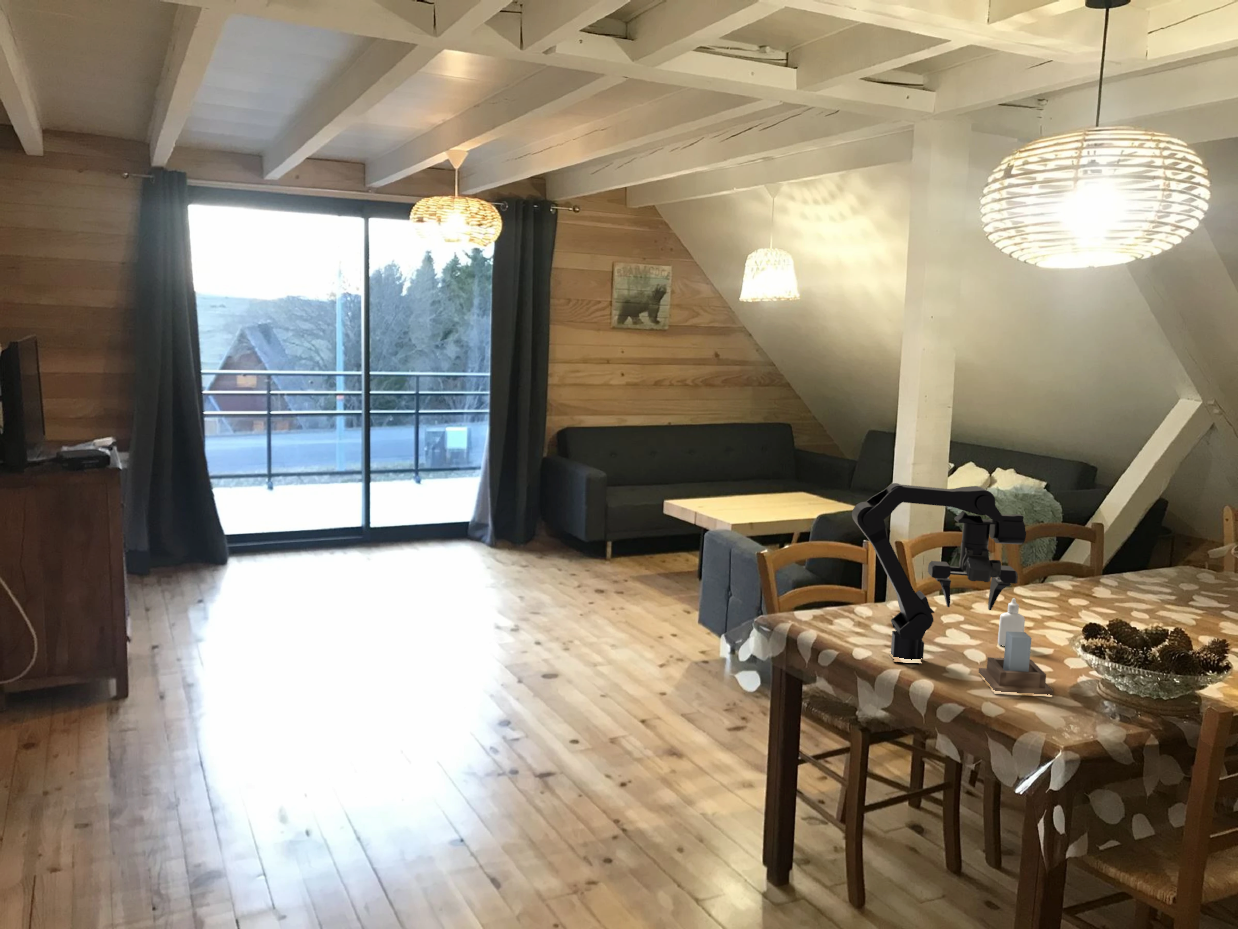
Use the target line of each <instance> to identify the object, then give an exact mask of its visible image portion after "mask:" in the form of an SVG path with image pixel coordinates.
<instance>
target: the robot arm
mask: <svg viewBox="0 0 1238 929" xmlns="http://www.w3.org/2000/svg"><path fill="white" fill-rule="evenodd" d="M902 503H903V504H904V503H905V504H906V503H907V504H917V505H928V506H938V507H949V508H954V509H957V510H961V511H960V513H959V514H958V515H956V516H955V517H954V521H956V522H957V523H959V524H962V534H961V535H962V536H961V543H960V557H959V563H958V565H959V566H954V565H953V566H951V565H950V564H949V563H948V562H947V561H936V560H931V561H930V562H928V565H927V573H928V574H929V576H930V577H931V578H932V579H933V578H934V579H935V580H936V582H939V583H940V584H939V585H940V586H941V589H942V593H943V596H944V600H945V603H946V607H947V608H950V607H951V583H952V580H951V579H950V577H951V576H952V575H954V576H966V577H967V579H968V580H969V581H971V582H984V583H989V582H990V587H989V594H988V603H987V610H988V611H992V609H993V607H994V606H995V603H996V601H997V599H998V597H999V595H1000V594H1001V593H1002V591H1003V590H1004V589H1005V588H1006V587H1011V585H1012V584H1013V585H1014V584H1018V579H1019V576H1018V575H1019V574H1018V572H1017V571H1016V570H1015V568H1013V567H1012V566H1010V565H1002V561H1001V560H1000V559H991V560H990V558H989V554H990V553H989V542H990V541H989V540H990V539H993V541H994V543H995V544H1003V545H1004V544H1005V545H1008V544H1009V545H1024V543H1025V541H1026V538H1027V530H1026V525H1025V521H1024V515H1022V514H1020V513H1014V514H1003V513H1001V512H1000V510H999V508H998V507H997V505H996V498H995V496H994V494H993V493H992V492H991V491H989V490H987V489H985V488H983V487H981V486H978V485H970V486H960V487H956V488H943V487H941V488H940V487H930V486H922V485H920V486H919V485H909V484H900V483H899V482H898V483H897V482H894V483H893V482H892V483H891V484H889V485H888V486H887V487H885V488H884V489H883V490H880V492H878V493H876V494H874V495H873V496H871V497H870V498H869V499H867V500H865V501H861V502H859V503H857V504H856V505H855V506H854V507H853V509H852V511H851V517H852V520H853V521H854V523H855V524H856V525H857V527H858V528H859V530H861V532H862V533H863V535H864V536H865V537H866V538H867V540H868V541H869V542H870V544H871V545H872V547H873V550H874V552H875V554H876V555H877V557H878V560H879V562H880V564H881V565H882V568H883V570H884V572H885V574H886V576H887V578H888V579H889V582H890V583H891V585H892V587H893V589H894V591H895V594H896V598H897V604H898V607H899V612H898V613H897V614H896V615H894V616H893V617H892V618H891V619H890V622H891V626H892V628H893V629H894V630H892V631H891V632H892V634H891V645H890V652H891V654H892V655H893V657H899V658H904V659H911V660H912V659H921V658H922V660H923V659H924V652H925V642H924V641H923V638H924V636H925V634H926V632H927V631H928V630H929V629H930V628H931V627H932V625H933V623H934V620H935V619H934V615H933V614H935V611H934V610H933V609H932V607H931V606H930V603H929V601H928V598H927V596H926V595H925V594H924V592H922V591H921V590H918V591H915V590H914V588H913V586H912V584H911V582H910V580H909V578H908V575H907V574H906V572H905V571H904V568H903V566H902V564H901V561H900V560H899V558H898V556H897V553H896V552H895V550H894V548H893V546H892V543H891V542H890V540H889V537H888V531H887V527H886V523H885V519H886V518H888V517H889V516H890V515H891V514H892V513H893V512H894V511H895V510H896V508H897V507H898V506H900V505H901V504H902ZM968 513H970V514H968ZM973 514H974V515H973ZM982 516H986V517H987V518H989V519H986V518H985V519H984V518H982Z"/></svg>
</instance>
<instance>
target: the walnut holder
mask: <svg viewBox="0 0 1238 929" xmlns="http://www.w3.org/2000/svg"><path fill="white" fill-rule="evenodd" d="M1003 664H1004V657H987V661H986V667H985V668H984V667H979V668H978V673H980V674H981V675H982V676H983V677H984V678H985V680H986V681H987V682H988V683H989V684H990V686H991V687H992V688H993V690H995V691H1001V692H1017V693H1034V694H1047V695H1048V694H1050V695H1053V696H1054V690H1053V688H1052V687H1051V686H1049V685H1048V683H1047V674H1046V672H1044V671H1043V670H1042V669H1041V668H1040V666H1038V665H1037V664H1036V662H1035V661H1034V660H1032V659H1031V658H1030V661H1029V672H1022V671H1005V670H1004V669H1003Z"/></svg>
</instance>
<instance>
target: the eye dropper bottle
mask: <svg viewBox="0 0 1238 929" xmlns="http://www.w3.org/2000/svg"><path fill="white" fill-rule="evenodd" d="M1007 604H1008V605H1007V612H1003V613H1001V614H1000V616H999V625H998V634H997V644H998V646H999V645H1003V646H1005V641H1006V631H1009V632H1025V623H1026V619H1025V616H1024V615H1022V614H1021V613H1019V610H1020V605H1019V603H1017V601H1016V598H1015V597H1013V598H1012V599H1011V602H1008V603H1007Z"/></svg>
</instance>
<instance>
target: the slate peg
mask: <svg viewBox="0 0 1238 929" xmlns="http://www.w3.org/2000/svg"><path fill="white" fill-rule="evenodd" d="M1031 648H1032V637H1031V636H1030V635H1029V634H1027V632H1026V631H1024V632H1009V631H1006V641H1005V647H1004V653H1003V654H1004V655H1003V658H1004V664H1003V669H1004V670H1005V671H1022V672H1029V661H1030V659H1031Z"/></svg>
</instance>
